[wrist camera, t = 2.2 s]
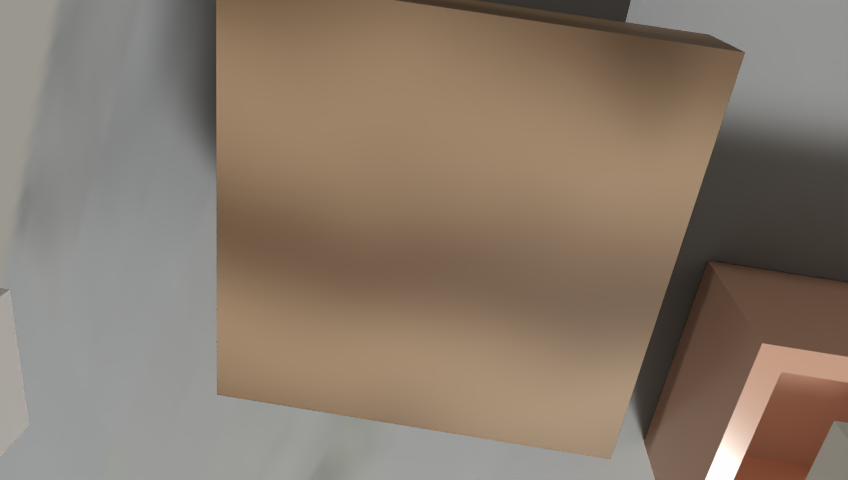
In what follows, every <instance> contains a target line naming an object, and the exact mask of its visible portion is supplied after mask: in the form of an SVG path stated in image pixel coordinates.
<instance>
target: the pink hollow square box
mask: <svg viewBox="0 0 848 480" xmlns="http://www.w3.org/2000/svg"><path fill="white" fill-rule="evenodd" d="M834 421H839V422H845V423H848V282H842V281H835V280H829V279H823V278H816V277H810V276H804V275H797V274H791V273H784V272H778V271H772V270H765V269H759V268H752V267H746V266H740V265H733V264H727V263H721V262H714V261H708V262H707V265H706V268H705V271H704V273H703V276H702V279H701V282H700V285H699V288H698V290H697V293H696V296H695V299H694V302H693V305H692V307H691V310H690V313H689V316H688V319H687V321H686V324H685V327H684V330H683V333H682V336H681V338H680V341H679V344H678V347H677V350H676V353H675V355H674V358H673V361H672V364H671V367H670V370H669V372H668V375H667V378H666V381H665V384H664V387H663V389H662V392H661V395H660V398H659V401H658V403H657V406H656V409H655V412H654V415H653V418H652V420H651V423H650V426H649V429H648V432H647V435H646V437H645V440H644V444H645V447H646V450H647V454H648V457H649V460H650V464H651V467H652V470H653V474H654V477H655V480H805V479H806V477H807V475H808V473H809V471H810V469H811V467H812V465H813V463H814V461H815V459H816V457H817V455H818V453H819V451H820V449H821V447H822V444H823V442H824V440H825V438H826V436H827V434H828V432H829V430H830V428H831V426H832V424H833V422H834Z"/></svg>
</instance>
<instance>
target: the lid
mask: <svg viewBox="0 0 848 480" xmlns="http://www.w3.org/2000/svg"><path fill="white" fill-rule="evenodd" d="M744 54H745V52H743V51H741V50H739V49H737V48H735V47H733V46H731V45H729V44H727V43H725V42H723V41H721V40H719V39H717V38H715V37H713V36H710V35H707V34H701V33H694V32H687V31H681V30H674V29H667V28H660V27H654V26H647V25H640V24H633V23H627V22H620V21H613V20H606V19H600V18H593V17H586V16H579V15H573V14H566V13H559V12H553V11H546V10H539V9H532V8H526V7H519V6H512V5H505V4H499V3H492V2H485V1H478V0H216V148H217V395H222V396H228V397H234V398H240V399H246V400H253V401H259V402H265V403H271V404H277V405H283V406H289V407H295V408H301V409H307V410H313V411H319V412H326V413H332V414H338V415H344V416H350V417H356V418H362V419H368V420H374V421H380V422H386V423H393V424H399V425H405V426H411V427H417V428H423V429H429V430H435V431H441V432H447V433H453V434H459V435H466V436H472V437H478V438H484V439H490V440H496V441H502V442H508V443H514V444H520V445H526V446H532V447H539V448H545V449H551V450H557V451H563V452H569V453H575V454H581V455H587V456H593V457H599V458H605V459H611V456H612V453H613V450H614V447H615V444H616V441H617V438H618V435H619V432H620V429H621V426H622V423H623V420H624V417H625V414H626V411H627V408H628V405H629V402H630V399H631V396H632V393H633V390H634V387H635V384H636V381H637V378H638V375H639V372H640V369H641V365H642V362H643V359H644V356H645V353H646V350H647V347H648V344H649V341H650V338H651V335H652V332H653V329H654V326H655V323H656V320H657V317H658V314H659V311H660V308H661V305H662V302H663V299H664V296H665V293H666V290H667V287H668V284H669V281H670V278H671V275H672V272H673V269H674V266H675V263H676V260H677V257H678V254H679V251H680V248H681V245H682V241H683V238H684V235H685V232H686V229H687V226H688V223H689V220H690V217H691V214H692V211H693V208H694V205H695V202H696V199H697V196H698V193H699V190H700V187H701V184H702V181H703V178H704V175H705V172H706V169H707V166H708V163H709V160H710V157H711V154H712V151H713V148H714V145H715V142H716V139H717V136H718V133H719V130H720V127H721V124H722V121H723V117H724V114H725V111H726V108H727V105H728V102H729V99H730V96H731V93H732V90H733V87H734V84H735V81H736V78H737V75H738V72H739V69H740V66H741V63H742V60H743V57H744Z"/></svg>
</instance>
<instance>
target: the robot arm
mask: <svg viewBox="0 0 848 480" xmlns="http://www.w3.org/2000/svg"><path fill="white" fill-rule="evenodd" d="M28 426H29V420H28V413H27V406H26V399H25V393H24V386H23V379H22V372H21V365H20V358H19V351H18V344H17V337H16V331H15V324H14V317H13V310H12V303H11V296H10V290H9V289H2V288H0V456H1V455H2V454H3V453H4V452H5V451H6V450H7V449H8V448H9V447H10V446H11V445H12V443H13V442H14V441H15V440H16V439H17V438H18V437H19V436H20V435H21V434H22V433H23V432H24V431H25V429H26V428H27V427H28ZM805 480H848V423H845V422H839V421H834V422H833V424H832V426H831V428H830V430H829V432H828V434H827V436H826V438H825V440H824V442H823V444H822V447H821V449H820V451H819V453H818V455H817V457H816V459H815V461H814V463H813V465H812V467H811V469H810V471H809V473H808V475H807V477H806V479H805Z"/></svg>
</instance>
